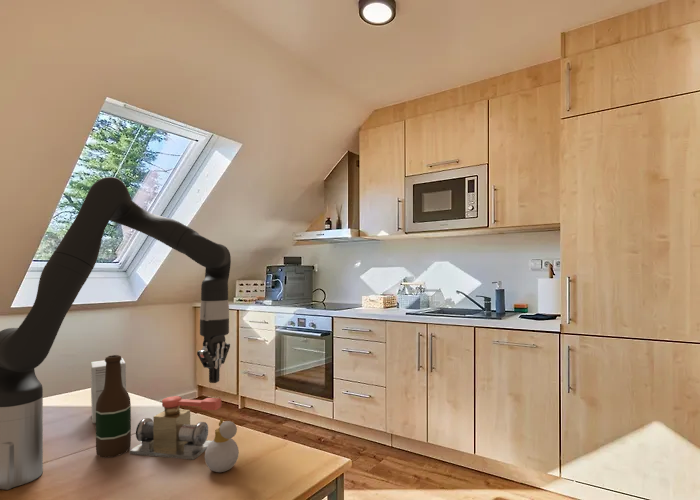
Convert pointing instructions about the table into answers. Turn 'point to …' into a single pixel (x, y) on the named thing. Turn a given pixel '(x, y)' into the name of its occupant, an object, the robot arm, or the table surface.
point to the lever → (192, 402)
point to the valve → (171, 435)
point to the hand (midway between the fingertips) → (214, 382)
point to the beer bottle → (113, 413)
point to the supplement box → (101, 381)
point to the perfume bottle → (222, 448)
